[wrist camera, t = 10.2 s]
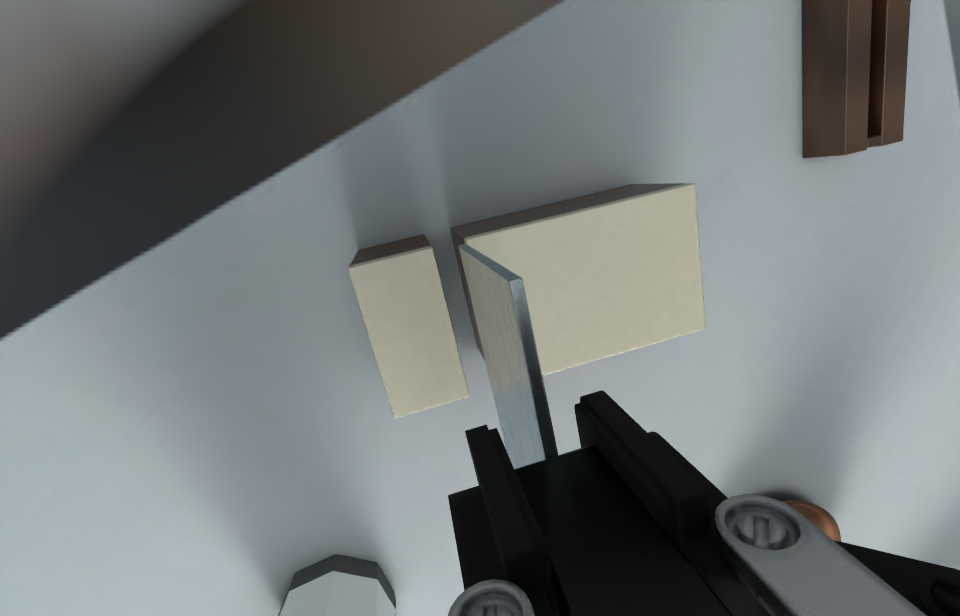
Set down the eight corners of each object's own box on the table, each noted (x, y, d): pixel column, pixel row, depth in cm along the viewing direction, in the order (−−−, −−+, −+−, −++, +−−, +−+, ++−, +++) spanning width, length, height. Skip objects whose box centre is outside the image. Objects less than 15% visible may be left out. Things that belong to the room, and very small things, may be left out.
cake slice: (358, 250, 27) (347, 268, 21) (423, 234, 27) (432, 247, 21) (394, 370, 29) (394, 419, 23) (454, 354, 29) (469, 397, 23)
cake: (449, 227, 27) (465, 239, 21) (631, 184, 29) (695, 183, 23) (477, 347, 30) (499, 388, 24) (645, 301, 31) (706, 329, 25)
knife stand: (801, -49, 27) (849, -76, 24) (862, -60, 27) (916, -88, 25) (802, 158, 30) (844, 155, 28) (856, 145, 31) (903, 140, 28)
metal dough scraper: (434, 251, 16) (534, 382, 4) (489, 237, 16) (721, 327, 5) (494, 489, 18) (655, 966, 7) (540, 474, 19) (770, 912, 7)
